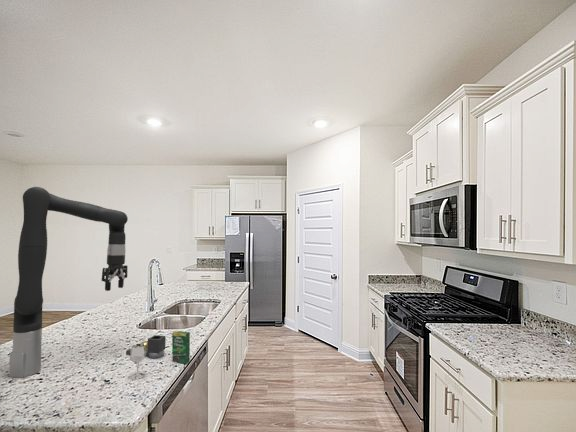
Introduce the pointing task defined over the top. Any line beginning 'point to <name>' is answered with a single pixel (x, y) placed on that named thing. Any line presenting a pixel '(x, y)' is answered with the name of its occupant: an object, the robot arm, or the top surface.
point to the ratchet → (149, 354)
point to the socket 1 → (145, 344)
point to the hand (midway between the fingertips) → (114, 289)
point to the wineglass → (137, 357)
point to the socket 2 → (156, 344)
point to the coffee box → (181, 347)
